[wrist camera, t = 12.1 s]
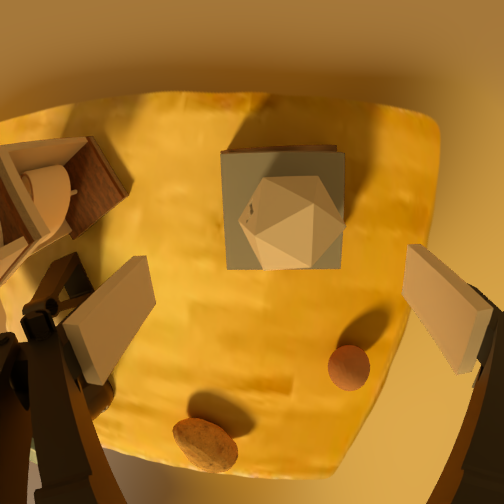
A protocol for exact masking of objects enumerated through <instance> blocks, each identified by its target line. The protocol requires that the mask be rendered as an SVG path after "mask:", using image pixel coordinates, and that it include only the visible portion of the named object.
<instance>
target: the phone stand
mask: <svg viewBox="0 0 504 504" xmlns="http://www.w3.org/2000/svg"><path fill="white" fill-rule="evenodd" d="M63 287H65V289H66V291H67V293H68V295H69V297H70V299H68V300H65V301H63V302H60V301H59V299H58V295H59V293H60V291H61V290H62V288H63ZM94 292H95V291H94V289H93V287H92V285H91V283H90V281H89V278H88V277H87V274H86V272H85V270H84V268H83V266H82V264H81V261H80V259H79V257H78V255H77V253H76V252H74V253H72V254H70V255H67V256H65V257H63V258H60V259H58V260H56V261H54V262H52V264H51V265H50V267H49V269H48V271H47V272H46V274H45V276H44V278H43V279H42V281H41V283H40V285H39V287H38V289H37V290H36V292H35V294H34V296H33V298H32V300H31V301H30V302H29V303H27V304H25V305H24V307H23V310H22V314H23V315H26V314H28V313H29V312H31V311H34V310H37V309H48V310H49V311H50V313H51V316H52V318H53V317H56V316H57V315H58V313H59V312H60V311H63V310H67V309H71V308H75V307H77V306H78V305H79V304H80V303H82V302H83V301H85V300H87V299H88V298H89V297H90V296H91V295H92V294H93V293H94Z"/></svg>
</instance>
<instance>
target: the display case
mask: <svg viewBox="0 0 504 504" xmlns="http://www.w3.org/2000/svg"><path fill="white" fill-rule="evenodd" d="M128 196H129V195H128V194H127V192H126V190H125V189H124V187H123V186H122V184H121V182H120V181H119V179H118V178H117V176H116V174H115V173H114V171H113V169H112V168H111V166H110V164H109V163H108V161H107V159H106V158H105V156H104V154H103V153H102V151H101V149H100V148H99V146H98V144H97V143H96V141H95V139H94V137H93V136H89V137H73V138H60V139H49V140H39V141H30V142H22V143H14V144H7V145H0V286H2V285H3V284H5V283H6V281H7V280H8V279H9V278H10V277H11V276H12V274H13V273H14V272H15V271H16V270H17V269H18V267H19V266H20V265H21V264H22V263H23V262H24V261H25V260H26V258H28V257H29V256H31V255H33V254H34V253H36V252H38V251H39V250H41V249H43V248H45V247H46V246H48V245H50V244H51V243H53V242H55V241H57V240H59V239H60V238H62V237H64V236H66V235H67V234H70V236H71V237H72V239H73V240H74V239H75V238H77V237H79V236H80V235H81V234H83V233H84V232H85V231H86V230H87V229H88V228H90V227H91V226H92V225H93V224H94V223H96V222H97V221H98V220H99V219H100V218H101V217H103V216H104V215H105V214H106V213H108V212H109V211H110V210H111V209H112V208H114V207H115V206H116V205H117V204H119V203H120V202H121V201H123V200H124V199H125V198H126V197H128Z"/></svg>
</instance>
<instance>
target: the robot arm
mask: <svg viewBox="0 0 504 504" xmlns="http://www.w3.org/2000/svg"><path fill="white" fill-rule="evenodd" d="M402 295H403V297H404V298H405V299H406V301H407V302H408V304H409V305H410V306H411V308H412V309H413V311H414V312H415V313H416V315H417V316H418V318H419V319H420V321H421V322H422V323H423V325H424V326H425V328H426V329H427V331H428V332H429V334H430V335H431V337H432V338H433V340H434V341H435V343H436V344H437V346H438V347H439V349H440V350H441V352H442V353H443V355H444V356H445V358H446V360H447V361H448V363H449V364H450V366H451V368H452V369H453V371H454V372H455V374H456V375H459V374H464V373H468V372H471V371H472V369H473V367H474V365H475V362H476V359H478V360H479V362H480V363H481V367H480V369H479V372H478V374H477V377H476V379H475V381H474V383H473V386H472V387H473V388H474V390H473V393H472V396H471V400H470V403H469V406H468V409H467V412H466V415H465V418H464V421H463V424H462V426H461V429H460V432H459V434H458V437H457V439H456V442H455V444H454V447H453V449H452V452H451V454H450V457H449V459H448V461H447V463H446V465H445V467H444V470H443V472H442V474H441V476H440V478H439V480H438V482H437V484H436V486H435V488H434V490H433V492H432V494H431V496H430V498H429V499H428V501H427V503H426V504H504V311H503V312H502V311H501V310H500V309H499V308H498V307H496V305H495V304H493V303H492V302H491V301H490V300H488V298H487V297H486V296H485V295H483V293H481V292H480V291H479V290H478V289H477V288H476V287H474V286H472V285H470V284H468V283H466V282H465V281H464V280H462V279H461V278H460V277H459V276H458V275H457V274H456V273H454V272H453V271H452V270H451V269H450V268H449V267H448V266H446V265H445V264H444V263H443V262H442V261H441V260H439V259H438V258H437V257H436V256H435V255H433V254H432V253H431V252H430V251H428V250H427V249H426V248H425V247H424V246H422V245H421V244H411V245H408V246H407V256H406V265H405V274H404V281H403V289H402ZM155 304H156V301H155V296H154V291H153V287H152V282H151V277H150V272H149V267H148V262H147V257H146V256H133V257H132V258H131V259H130V260H128V261H127V262H126V263H125V264H124V265H123V266H122V267H121V268H120V269H119V270H117V271H116V272H115V273H114V274H113V275H112V276H111V277H110V278H109V279H108V280H107V281H106V282H105V283H103V284H102V285H101V286H100V287H99V288H98V289H97V290H96V291H95V292H94V293H93V294H92V295H91V296H90V297H89V298H88V299H87V300H85V301H83V302H82V303H80V304H79V305H78V306H77V307H76V308H75V309H74V310H73V311H72V312H71V313H69V314H68V316H66V317H65V318H64V319H63V320H62V321H61V322H60V323H59V324H58V325H57V326H56V327H55V324H54V321H53V319H52V316H51V313H50V311H49V310H48V309H37V310H34V311H31V312H29V313H28V314H26V315H25V316H24V317H23V318H22V319H21V321H20V323H21V325H22V328H23V330H24V332H25V335H26V337H27V339H28V342H21V343H19V342H18V340H17V338H16V336H15V334H14V333H12V332H6V333H1V334H0V504H27V485H28V470H29V460H30V461H32V462H33V463H35V464H37V465H38V468H39V473H40V477H41V482H42V488H40V489H36V490H35V492H34V499H35V504H127V502H126V501H125V498H124V496H123V494H122V492H121V490H120V488H119V486H118V484H117V482H116V479H115V478H114V475H113V473H112V471H111V468H110V466H109V464H108V461H107V459H106V456H105V454H104V451H103V449H102V446H101V444H100V441H99V439H98V436H97V433H96V430H95V428H94V425H93V422H92V421H93V420H94V419H95V418H96V417H97V416H99V414H100V413H102V412H104V411H106V410H107V409H108V408H109V406H110V404H111V402H112V401H113V397H114V394H113V390H112V387H111V385H110V383H109V382H108V380H107V378H108V377H109V375H110V373H111V372H112V370H113V369H114V367H115V365H116V364H117V362H118V361H119V359H120V358H121V356H122V354H123V353H124V351H125V350H126V348H127V347H128V345H129V344H130V342H131V341H132V339H133V338H134V336H135V334H136V333H137V331H138V330H139V328H140V327H141V325H142V324H143V322H144V321H145V319H146V318H147V316H148V315H149V313H150V312H151V310H152V309H153V307H154V306H155Z"/></svg>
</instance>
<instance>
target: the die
mask: <svg viewBox="0 0 504 504" xmlns="http://www.w3.org/2000/svg"><path fill="white" fill-rule="evenodd" d="M238 221H239V223H240V225H241V227H242V229H243V231H244V233H245V235H246V237H247V239H248V241H249V243H250V245H251V247H252V249H253V251H254V253H255V254H256V256H257V258H258V260H259V262H260V264H261V266H262V268H263V270H264V271H265V270H281V269H295V268H310V267H312V266H313V265H314V264H315V262H316V261H317V260H318V259H319V258H320V257H321V256H322V255H323V253H324V252H325V251H326V250H327V249H328V248H329V246H330V245H331V244H332V243H333V242H334V241H335V240H336V238H337V237H338V236H339V235H340V234H341V232H342V231H343V230H344V229H345V228H346V225H345V223H344V221H343V219H342V218H341V216H340V214H339V212H338V210H337V208H336V206H335V205H334V203H333V201H332V199H331V197H330V196H329V194H328V192H327V190H326V189H325V187H324V185H323V183H322V182H321V180H320V178H319V176H283V177H263V178H262V180H261V181H260V183H259V185H258V187H257V188H256V190H255V192H254V194H253V195H252V197H251V199H250V200H249V202H248V204H247V206H246V207H245V209H244V211H243V213H242V214H241V216H240V218H239V220H238Z"/></svg>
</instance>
